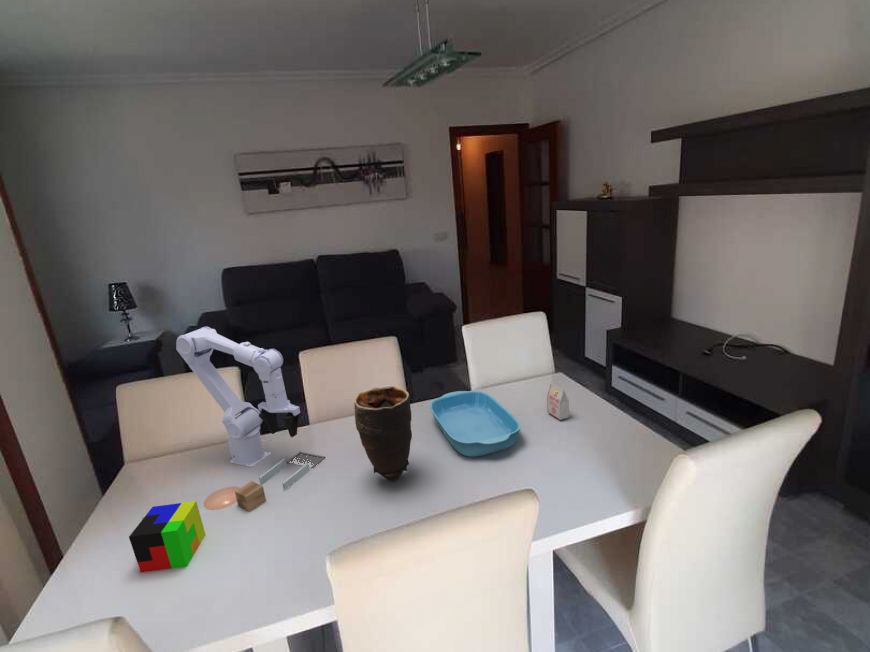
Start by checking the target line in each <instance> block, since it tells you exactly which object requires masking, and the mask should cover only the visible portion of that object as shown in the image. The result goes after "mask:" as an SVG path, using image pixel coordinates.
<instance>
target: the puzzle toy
mask: <svg viewBox="0 0 870 652" xmlns="http://www.w3.org/2000/svg"><path fill="white" fill-rule="evenodd" d="M197 502H198V501H197V500H193V501H186V502H179V503H177V502H176V503H171V504H163V505H155V506H152V507H151V508H150V509H149V511H148V512H147V513H146V514H145V516H144V517H142V519H141V520H140V522H139V523H138V524H137V526H136V527H135V529H133V531H132V533H130V535H129V536H128V539H129V542H130V545H131V547H132V551H133V554H134V557H135V560H136V562H137V566H138V569H139V573H148V572H156V571H163V570H164V571H165V570H171V569H178V568H184V567H186V568H187V567H188V566H189V564H190V563H191V561H192V559H193V557H194V555H195V554H196V552H197V550H198V549H199V547H200V545H201V543H202V542H203V540H204V538H205V537H206V532H205V528H204V525H203V520H202V517H201V513H200V510H199V506H198V503H197Z"/></svg>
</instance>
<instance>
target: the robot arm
mask: <svg viewBox="0 0 870 652" xmlns="http://www.w3.org/2000/svg"><path fill="white" fill-rule="evenodd" d="M175 347H176V349H175V350H176V351H177V353H178V354H179V355H180V356H181V357H182V359H183V360H184V362H185V363H186V364H187V365H188V367H189V369H190V370H191V371H192V372H193V373H194V375H195V376H196V377H197V378H198V380H199V381H200V382H201V384H202V385H203V386H204V387H205V389H206V390H207V391H208V392H209V394H210V395H211V396H212V398H213V399H214V401H216V403H217V404H218V405H219V407H220V408H221V410H222V411H223V412H224V414H223V416H222V417H223V418H222V421H221V423H222V424H223V426H224V427H225V430H226V432H227V435H228V436H229V439H228V446H229V450H230V456H231V460H230V461H229V462H230V463H231V464H235V465H240V466H245V467H248V468H253V467H255V466H256V465H258V464H259V463H261V462H262V461H263V460H264V458H265V457H266V458H267V457H269V456H270V455H271V454H272V453H271V452H269V451H265V450H264V446H263V441H262V435H261V433H260V429H261V425H262V423H263V422H264V423H265V425H266V427H267V428H268V431H269V432H270V434H272V435H274V434H275V433H277V432H278V431H279V426H278V424H279V423H278V418H277V415H278V414H277V413H279V414H280V413H283V414H286V415H284V416H283V417H282V418H281V419H282V421H283V422H284V424H285V426H286V427H287V431H288V434H289V436H290V438H294V437H296V436H297V435H298V425H299V420H300V418H301V417H300V416H301V414H302V411H301V410H300V406H297V405H296V404H292V403H291V401H290V399H288V396H287V393H286V389H285V388H286V387H285V383H284V378H283V373H282V368H281V367H282V366H283V363H284V357H283V355H282V354H281V352H280V351H278V350H277V349H275V348H269V349H265V348H264V347H261V348H260V347H258V346H256V345H253V344H251V342H249V341H245V342H244V341H243V342H240V343H237V342H235V341H233V340H231V339H229V338H227V337H225V336H223V335H221V334H219V333H217V330H216V329H215V328H211V327H210V326H203V327H200V328H199V329H195V330H193V331H190V332H188V333H186V334H181V335H179V336H177V338H176V346H175ZM214 350H216V351H220V352H222V353H225V354H229V355H232V356H233V357H234V360H235V361H237V362H239V363H242V364H244V365H247V366H249V367H252V368H253V370H254V371H255V373H256V374H257V375H258V379H259V380H260V381H261V385H262V389H263V394H264V396H265V397H264V398H265V401H261V402H260V403H258V404H257V408H256V407H254V406H253V405H252V404H251V403H250V402H247V401H242V400H241V399H240V398H239V397H238V395H237V394H236V393H235V391H233V389H232V388H231V387H230V386H229V384H228V383H227V381H226V380H225V379H224V378H223V376H222V375H221V374H220V372H219V371H218V370H217V368H216V367H215V366H214V364H213V363H212V362H211V359H210V358H211V356H212V354H213V351H214ZM268 455H269V456H268ZM266 458H265V459H266ZM261 460H262V461H261ZM257 463H258V464H257Z"/></svg>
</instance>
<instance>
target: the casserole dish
mask: <svg viewBox="0 0 870 652" xmlns="http://www.w3.org/2000/svg"><path fill="white" fill-rule="evenodd" d="M429 408H430V410H431V414H432V416H433V418H434V420H435V422H436V424H437V425H438V427H439V428H440V430H441V431H442V433H443V434H444V436H445V437H446V439H447V440H448V442H449V443H450V445H451V446H452V447H453V448H454V449H455V450H456V452H458V453H459V454H461V455H462V456H464V457H469V458H470V457H471V458H476V457H482V456H486V455H489V454H493V453H498V452H500V451H504V450H507V449H509V448H510V447H512V446H514V444H515V442H516V441H517V438H518V435H519V433H520V431H521V423H520V421H519V420H518V419H517V418H516V417H515V416H514V414H512V413H511V412H510V411H509V410H508V409H507V408H506V407H505V406H504V405H503V404H502V403H501V402H499V401H498V400H497V399H496V398H495V397H493V396H492V395H490V394H489V393H488V392H486V391H481V390H470V391H469V390H458V391H452V392H448V393H444V394H442V396H440V397H437V398H435V399H433V400H431V402H430V404H429Z"/></svg>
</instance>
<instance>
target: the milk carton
mask: <svg viewBox="0 0 870 652" xmlns="http://www.w3.org/2000/svg"><path fill="white" fill-rule="evenodd" d="M546 405H547V406H546V409H547V411H546V412H547V413H548V414H550V415H551V416H553V417H554V418H556V419H558V420H559V421H561V420H565V419H568V418H570V400H569V398H568V396H567V394H566V392H565V389H562V388H561V387H559V386H557V385H556V384H554V383H550V386H549V388H548V392H547V394H546Z"/></svg>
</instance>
